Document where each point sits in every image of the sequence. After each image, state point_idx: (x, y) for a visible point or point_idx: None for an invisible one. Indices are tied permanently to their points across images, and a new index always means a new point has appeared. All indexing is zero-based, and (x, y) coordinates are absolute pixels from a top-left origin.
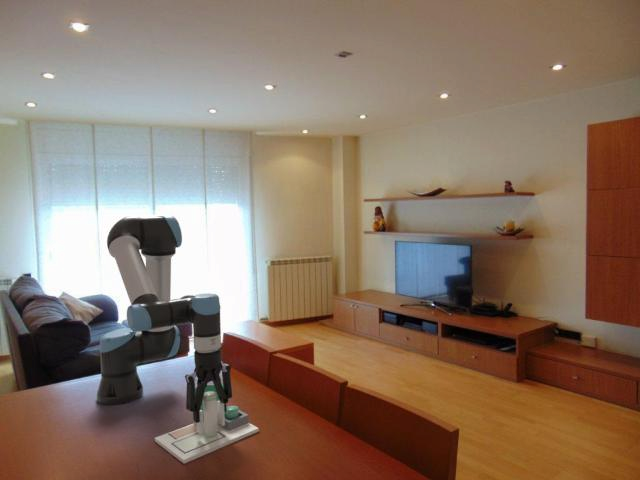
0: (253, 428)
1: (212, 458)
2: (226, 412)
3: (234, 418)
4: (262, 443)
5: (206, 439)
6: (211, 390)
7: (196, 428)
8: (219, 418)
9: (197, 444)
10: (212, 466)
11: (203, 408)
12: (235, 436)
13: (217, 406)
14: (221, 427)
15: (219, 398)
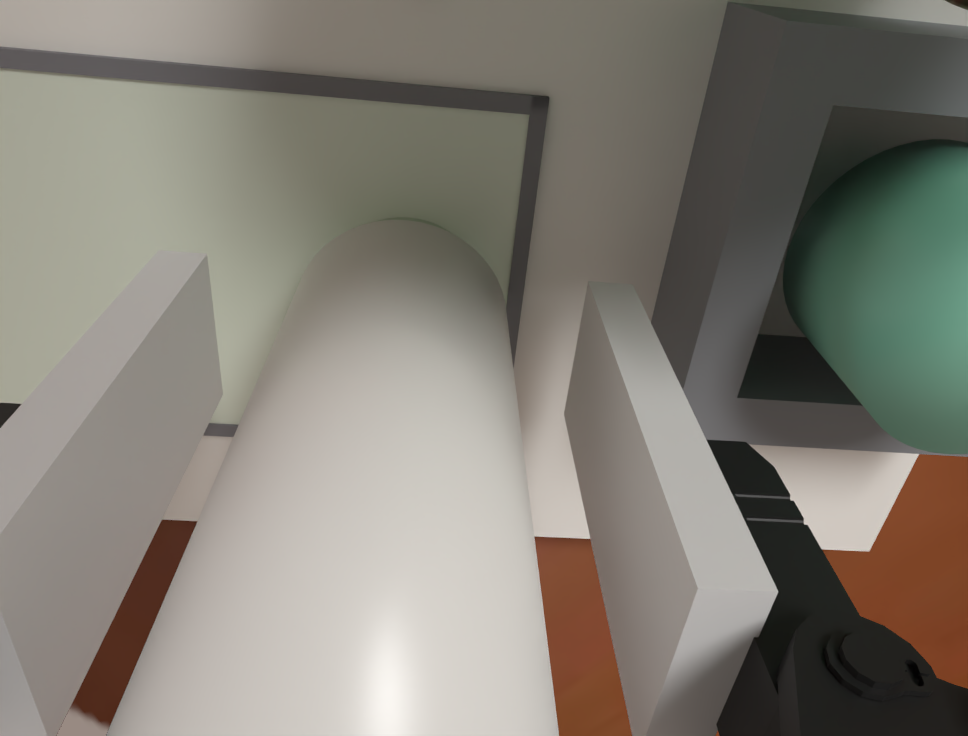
0: (836, 523)
1: None
2: (851, 321)
3: (828, 404)
4: None
5: None
6: None
7: (139, 279)
8: (591, 397)
9: None
10: (135, 654)
11: (160, 609)
12: (579, 516)
13: (653, 504)
14: (659, 211)
15: (786, 703)
